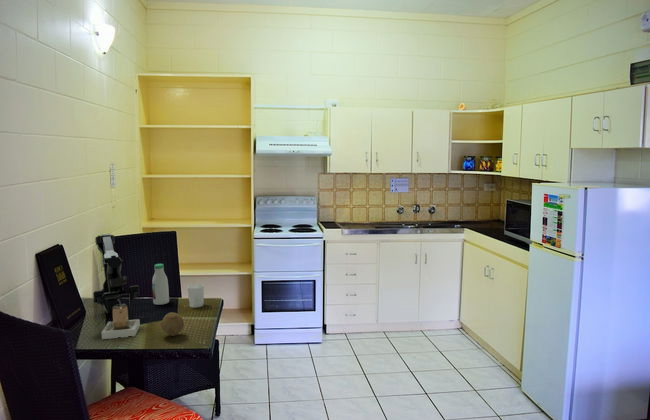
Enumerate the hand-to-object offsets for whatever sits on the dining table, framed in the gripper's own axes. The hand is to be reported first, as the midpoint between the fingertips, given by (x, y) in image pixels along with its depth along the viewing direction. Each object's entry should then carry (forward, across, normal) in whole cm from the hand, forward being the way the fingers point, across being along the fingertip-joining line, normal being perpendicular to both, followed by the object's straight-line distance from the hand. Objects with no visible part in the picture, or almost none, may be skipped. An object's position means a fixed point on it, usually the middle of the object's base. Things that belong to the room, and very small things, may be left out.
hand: (119, 310), depth 216 cm
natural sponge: (+20, +18, -7) cm, 28 cm away
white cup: (-6, +38, +18) cm, 42 cm away
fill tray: (+8, 0, +4) cm, 9 cm away
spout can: (+7, 0, +3) cm, 8 cm away
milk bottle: (-16, +23, +29) cm, 40 cm away
